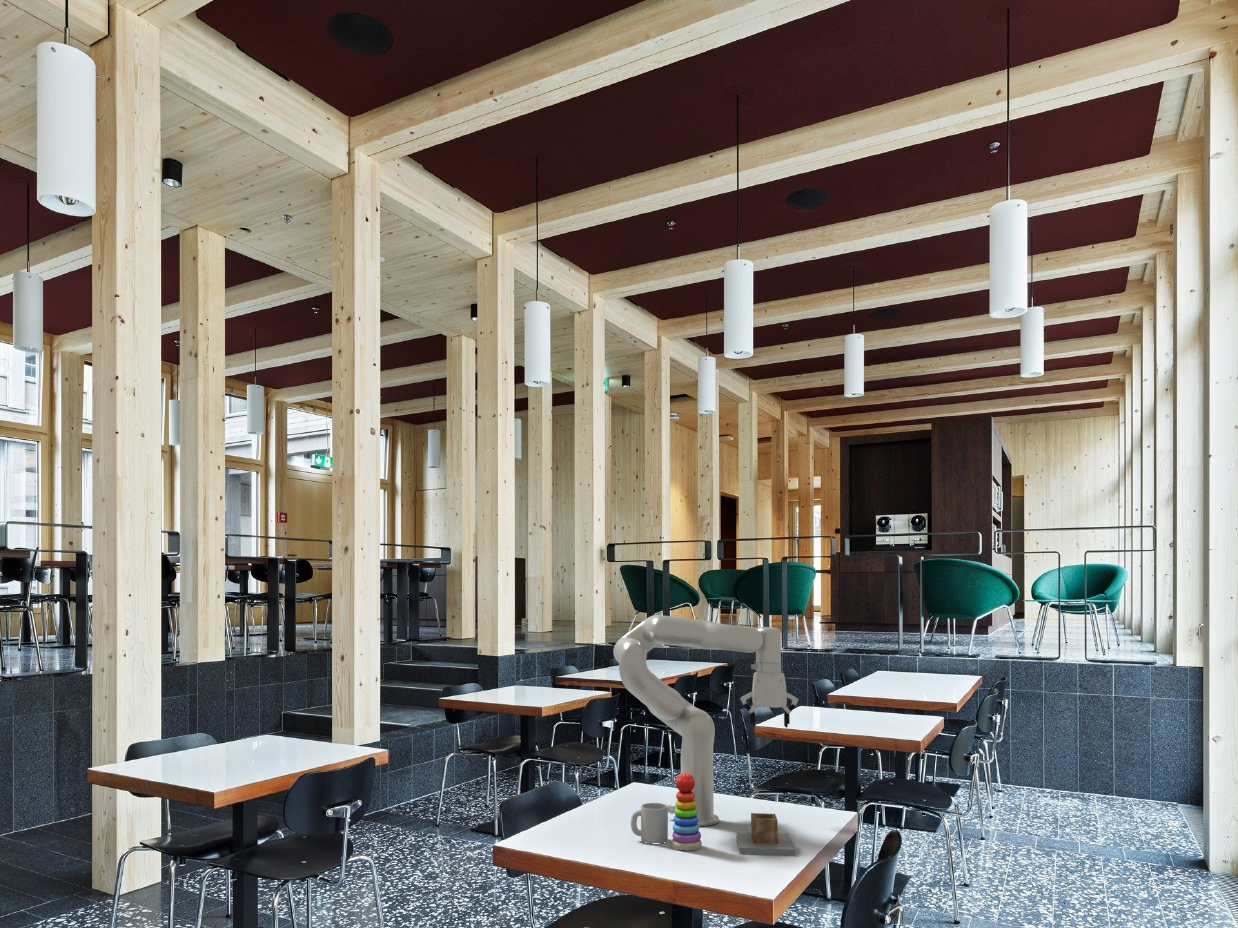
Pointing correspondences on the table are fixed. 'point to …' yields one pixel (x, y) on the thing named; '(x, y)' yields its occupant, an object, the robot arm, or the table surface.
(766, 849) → the board
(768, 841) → the wooden cube shelf
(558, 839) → the table surface
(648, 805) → the cup
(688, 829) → the stacking toy
